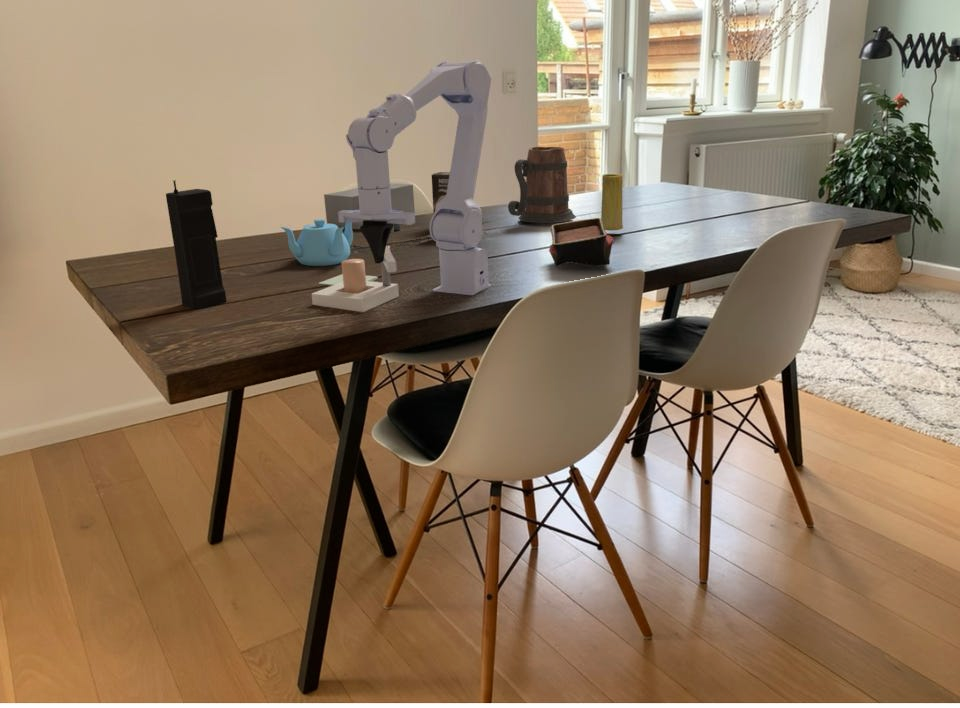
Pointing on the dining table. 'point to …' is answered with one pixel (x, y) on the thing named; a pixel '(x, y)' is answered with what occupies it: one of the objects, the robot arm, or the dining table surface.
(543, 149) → the tankard
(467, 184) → the robot arm
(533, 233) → the dining table surface
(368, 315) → the dining table surface
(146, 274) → the dining table surface
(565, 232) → the rectangular planter pot
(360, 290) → the plug
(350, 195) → the grey stepped box
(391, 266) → the grey long bar
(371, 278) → the mat
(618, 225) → the vase
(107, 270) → the dining table surface
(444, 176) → the coffee box
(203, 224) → the portable radio
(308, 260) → the teapot
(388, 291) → the socket block
